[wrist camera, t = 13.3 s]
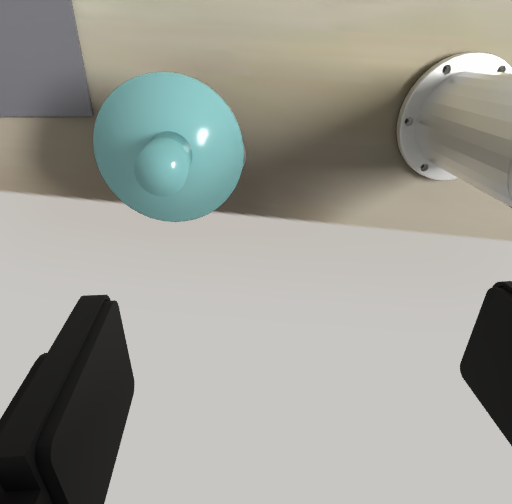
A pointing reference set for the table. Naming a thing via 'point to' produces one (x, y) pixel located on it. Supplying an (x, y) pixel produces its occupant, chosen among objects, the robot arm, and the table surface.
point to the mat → (41, 60)
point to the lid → (168, 146)
